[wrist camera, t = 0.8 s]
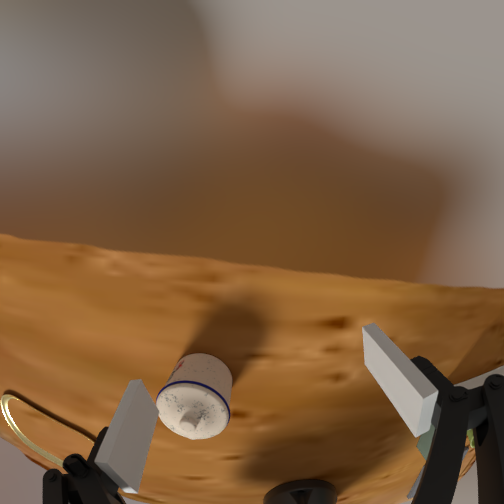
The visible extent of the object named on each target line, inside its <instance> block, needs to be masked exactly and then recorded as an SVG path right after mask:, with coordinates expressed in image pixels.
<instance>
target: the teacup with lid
mask: <svg viewBox="0 0 504 504" xmlns="http://www.w3.org/2000/svg"><path fill="white" fill-rule="evenodd" d="M231 389H232V376H231V373H230V371H229V369H228V367H227V366H226V365H225V364H224V363H223V362H222V361H221V360H219V359H218V358H216V357H214V356H212V355H208V354H203V353H195V354H190V355H187V356H185V357H183V358H182V359H181V360H179V362H178V363H177V364H176V366H175V368H174V370H173V372H172V373H171V375H170V377H169V379H168V381H167V383H166V385H165V387H163V388H162V389H161V391H160V392H159V394H158V396H157V399H156V407H157V408H158V410H159V414H158V415H159V417H160V419H161V420H162V422H163V423H164V424H165V425H166V426H167V427H168V428H169V429H171V430H172V431H173V432H175V433H177V434H179V435H181V436H184V437H188V438H189V439H193V440H195V439H205V438H210V437H213V436H215V435H217V434H219V433H220V432H221V431H223V430H224V428H225V427H226V426H227V424H228V422H229V419H230V409H229V404H230V397H231Z"/></svg>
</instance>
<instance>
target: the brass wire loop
mask: <svg viewBox="0 0 504 504" xmlns="http://www.w3.org/2000/svg"><path fill="white" fill-rule="evenodd" d="M12 398H14V399H17V400H20V401H21V402H23V403H24V404H26V405H28V406H29V407H31V408H32V409H34V410H36V411H37V412H39V413H41V414H43V415H44V416H46V417H48V418H50V419H51V420H53V421H55V422H57V423H59V424H61V425H63V426H65V427H67V428H69V429H71V430H73V431H75V432H77V433H79V434H81V435H82V436H84V437H86V438H87V439H89V440H90V441H91V442H93V443H95V441H94V440H93V439H91V438H90V437H88V436H87V435H85V434H84V433H82V432H80V431H78V430H76V429H74V428H72V427H70V426H68V425H66V424H64V423H62V422H60V421H58V420H56V419H54V418H52V417H50V416H49V415H47V414H45V413H43V412H42V411H40V410H38V409H36V408H35V407H33V406H31V405H30V404H28V403H27V402H25V401H23V400H22V399H20V398H18V397H16V396H14V395H11V394H5V395H3V396H2V398H1V408H2V411H3V414H4V416H5V418H6V420H7V422H8V423H9V425H10V427H11V428H12V429H13V431H14V432H15V433H16V434H17V436H18V437H19V438H20V439H21V440H22V441H23V442H24V443H25V444H26V445H27V446H29V447H30V448H31V449H33V450H34V451H36V452H37V453H39V454H40V455H42V456H44V457H45V458H47V459H49V460H51V461H52V462H54V463H56V464H58V465H60V466H61V467H63V466H62V464H63V461H62V460H60V459H58V458H57V457H55V456H53V455H51V454H50V453H48V452H46V451H44V450H43V449H41V448H39V447H38V446H36V445H35V444H33V443H32V442H31V441H29V440H28V439H27V438H26V437H25V436H24V435H23V434H22V433H21V431H20V430H19V429H18V428H17V426H16V425H15V423H14V422H13V420H12V418H11V416H10V414H9V411H8V401H9V399H12Z"/></svg>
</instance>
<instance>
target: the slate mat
mask: <svg viewBox="0 0 504 504" xmlns="http://www.w3.org/2000/svg"><path fill="white" fill-rule="evenodd" d="M468 449H469V448H468V447H465V448H464V453H463V459H464V457H465V455H466V453H467V451H468ZM463 459H462V460H463ZM424 467H425V465H424V466H423V468H422V470H421V472H420V474H419V476H418V478H417V480H416V482H415V483H414V485H413V487H412V489H411V490H410V492H409V494H408V496H407V498H408V499H409V498H412V497H414V495H415V493H416V490H417V487H418V485H419V482H420V479H421V476H422V473H423V470H424Z"/></svg>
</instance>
